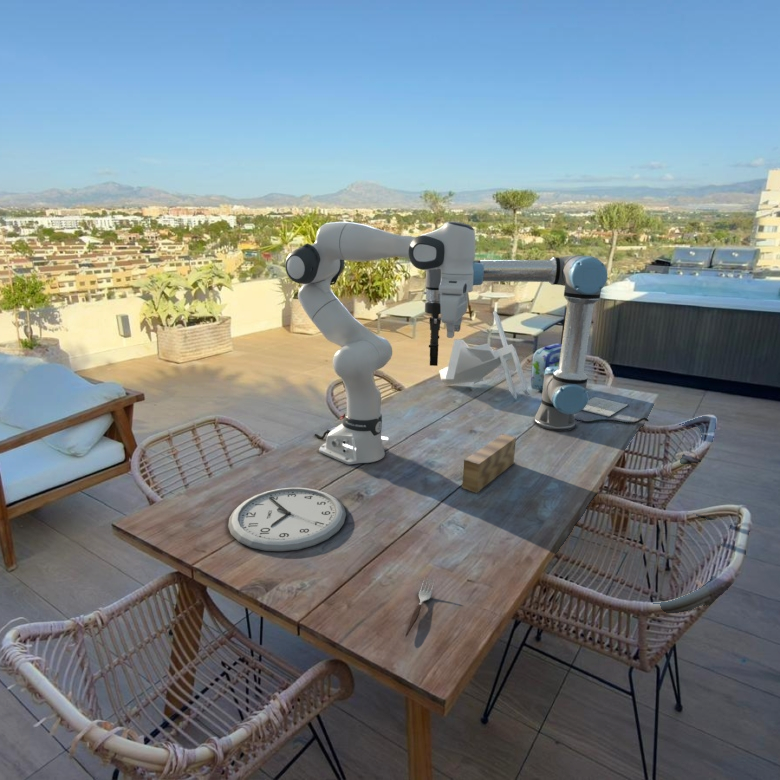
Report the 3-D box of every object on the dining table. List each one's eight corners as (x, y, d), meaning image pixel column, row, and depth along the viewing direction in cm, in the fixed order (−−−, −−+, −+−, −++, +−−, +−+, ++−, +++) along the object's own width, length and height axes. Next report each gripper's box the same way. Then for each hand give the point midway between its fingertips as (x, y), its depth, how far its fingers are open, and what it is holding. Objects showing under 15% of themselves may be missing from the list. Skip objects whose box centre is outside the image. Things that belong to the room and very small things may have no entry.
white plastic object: (461, 429, 252) (437, 405, 227) (444, 352, 274) (420, 323, 250) (535, 404, 240) (518, 377, 215) (510, 326, 262) (492, 293, 237)
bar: (500, 459, 173) (502, 433, 170) (513, 463, 170) (516, 437, 168) (462, 488, 154) (463, 459, 151) (476, 493, 151) (478, 464, 148)
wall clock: (346, 543, 123) (215, 547, 120) (346, 549, 123) (215, 553, 121) (345, 483, 151) (239, 485, 149) (345, 488, 152) (240, 490, 149)
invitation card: (608, 416, 214) (573, 407, 224) (608, 416, 214) (573, 408, 224) (628, 404, 229) (594, 396, 238) (628, 405, 229) (594, 397, 238)
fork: (398, 636, 97) (399, 628, 97) (423, 584, 111) (423, 576, 111) (412, 640, 96) (412, 631, 96) (435, 587, 111) (435, 579, 110)
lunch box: (547, 395, 239) (552, 351, 233) (526, 390, 247) (530, 347, 240) (574, 384, 257) (579, 343, 251) (554, 380, 264) (558, 339, 258)
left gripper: (452, 280, 153) (449, 327, 157) (437, 287, 134) (434, 340, 138) (474, 281, 151) (470, 328, 155) (461, 288, 132) (458, 342, 137)
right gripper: (425, 296, 194) (423, 352, 201) (424, 306, 170) (422, 369, 177) (445, 297, 194) (443, 353, 200) (447, 307, 170) (444, 370, 176)
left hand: (453, 334), depth 147 cm, fingers open, 8 cm apart
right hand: (433, 360), depth 188 cm, fingers open, 13 cm apart
